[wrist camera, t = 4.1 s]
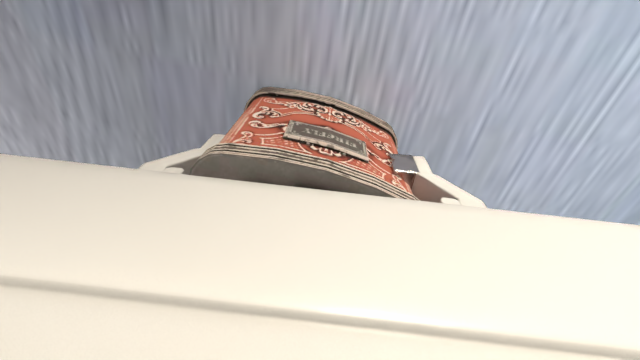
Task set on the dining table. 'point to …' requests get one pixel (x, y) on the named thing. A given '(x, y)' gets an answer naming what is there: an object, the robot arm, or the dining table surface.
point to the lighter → (307, 146)
